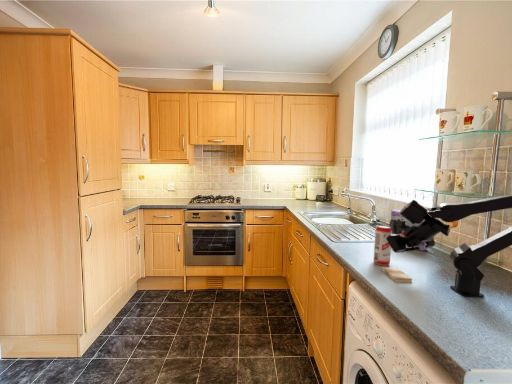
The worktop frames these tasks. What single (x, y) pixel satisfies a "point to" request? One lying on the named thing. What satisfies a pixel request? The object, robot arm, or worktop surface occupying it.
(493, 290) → the worktop surface
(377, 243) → the beer can
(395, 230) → the cake pan box
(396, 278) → the chopping board
